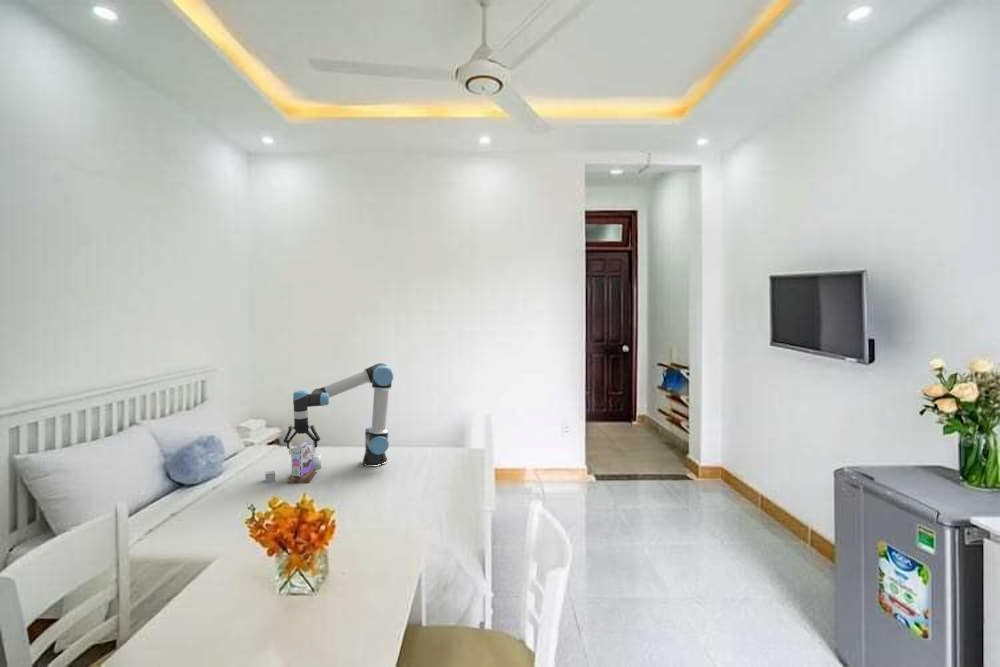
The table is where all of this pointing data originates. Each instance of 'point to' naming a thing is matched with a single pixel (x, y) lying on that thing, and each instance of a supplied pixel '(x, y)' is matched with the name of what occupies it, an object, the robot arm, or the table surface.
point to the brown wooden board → (302, 477)
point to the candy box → (302, 459)
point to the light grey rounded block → (317, 461)
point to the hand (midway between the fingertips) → (302, 453)
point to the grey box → (270, 476)
